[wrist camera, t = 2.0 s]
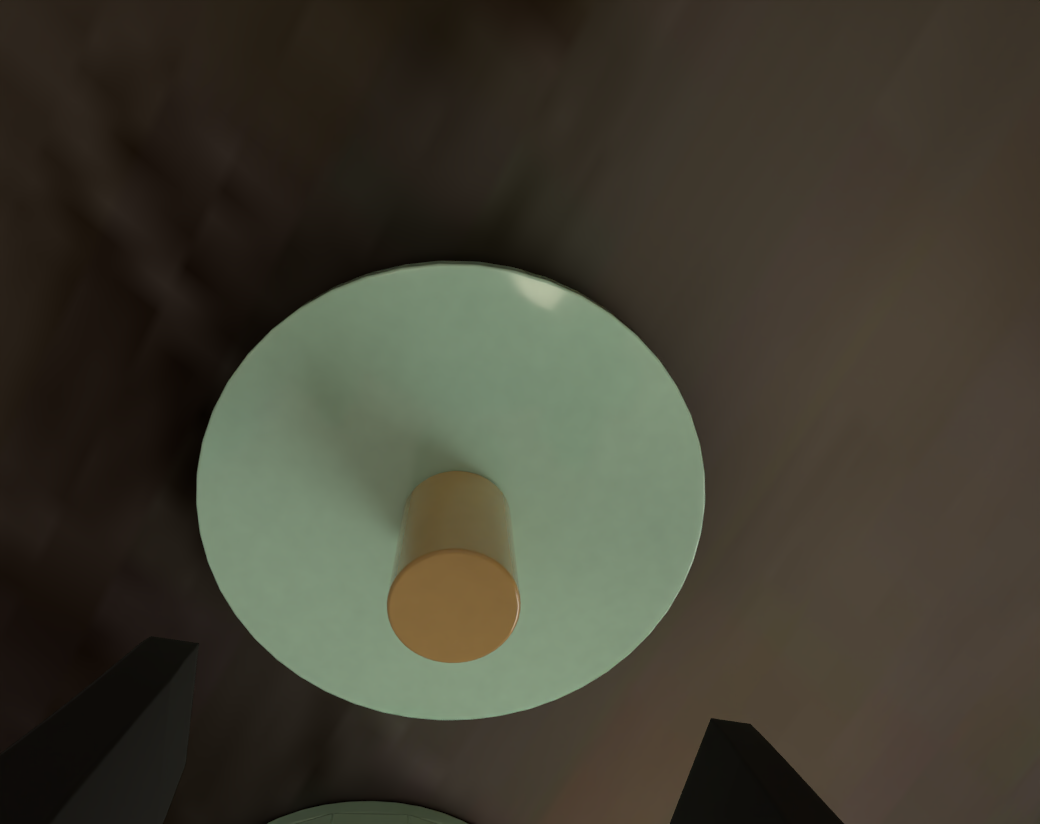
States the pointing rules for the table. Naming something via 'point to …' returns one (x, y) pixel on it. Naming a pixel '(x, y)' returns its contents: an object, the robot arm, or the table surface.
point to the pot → (367, 814)
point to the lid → (450, 490)
